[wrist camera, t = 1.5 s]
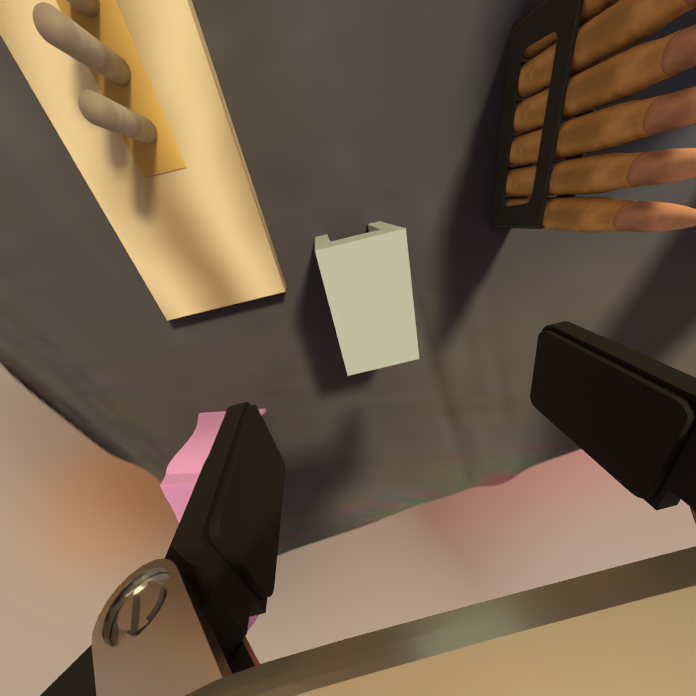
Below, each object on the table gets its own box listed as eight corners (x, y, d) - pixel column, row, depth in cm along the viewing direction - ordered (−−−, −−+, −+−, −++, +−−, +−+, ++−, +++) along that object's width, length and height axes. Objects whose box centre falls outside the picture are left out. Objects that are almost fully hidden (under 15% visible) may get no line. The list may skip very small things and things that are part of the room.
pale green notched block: (379, 221, 20) (405, 228, 14) (394, 321, 23) (419, 358, 18) (315, 237, 20) (314, 250, 14) (340, 334, 24) (347, 375, 18)
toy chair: (276, 403, 26) (236, 604, 13) (286, 465, 30) (262, 666, 17) (185, 409, 26) (46, 629, 12) (208, 472, 30) (121, 688, 16)
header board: (137, -163, 12) (21, -401, 7) (286, 287, 21) (278, 310, 17) (-65, -110, 12) (-309, -312, 7) (174, 314, 21) (135, 345, 17)
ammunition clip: (511, 25, 16) (919, -348, 5) (542, 21, 16) (1010, -359, 5) (490, 227, 21) (671, 251, 10) (514, 223, 21) (719, 243, 10)
